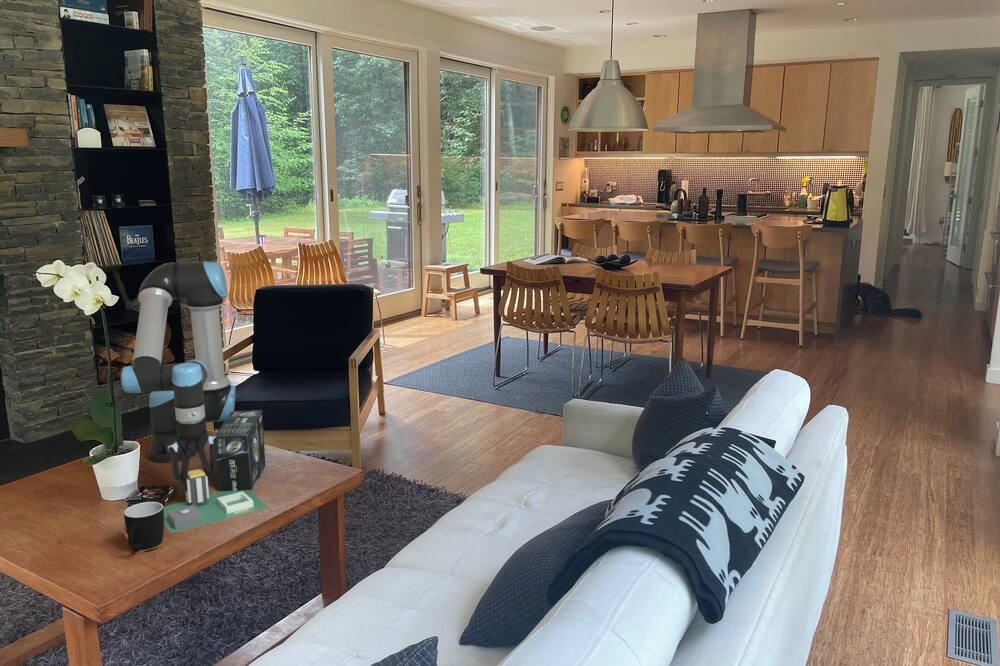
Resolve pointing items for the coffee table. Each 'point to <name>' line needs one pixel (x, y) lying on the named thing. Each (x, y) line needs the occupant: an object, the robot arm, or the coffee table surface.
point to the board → (210, 509)
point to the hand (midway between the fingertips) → (197, 498)
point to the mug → (144, 525)
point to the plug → (197, 487)
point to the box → (240, 451)
